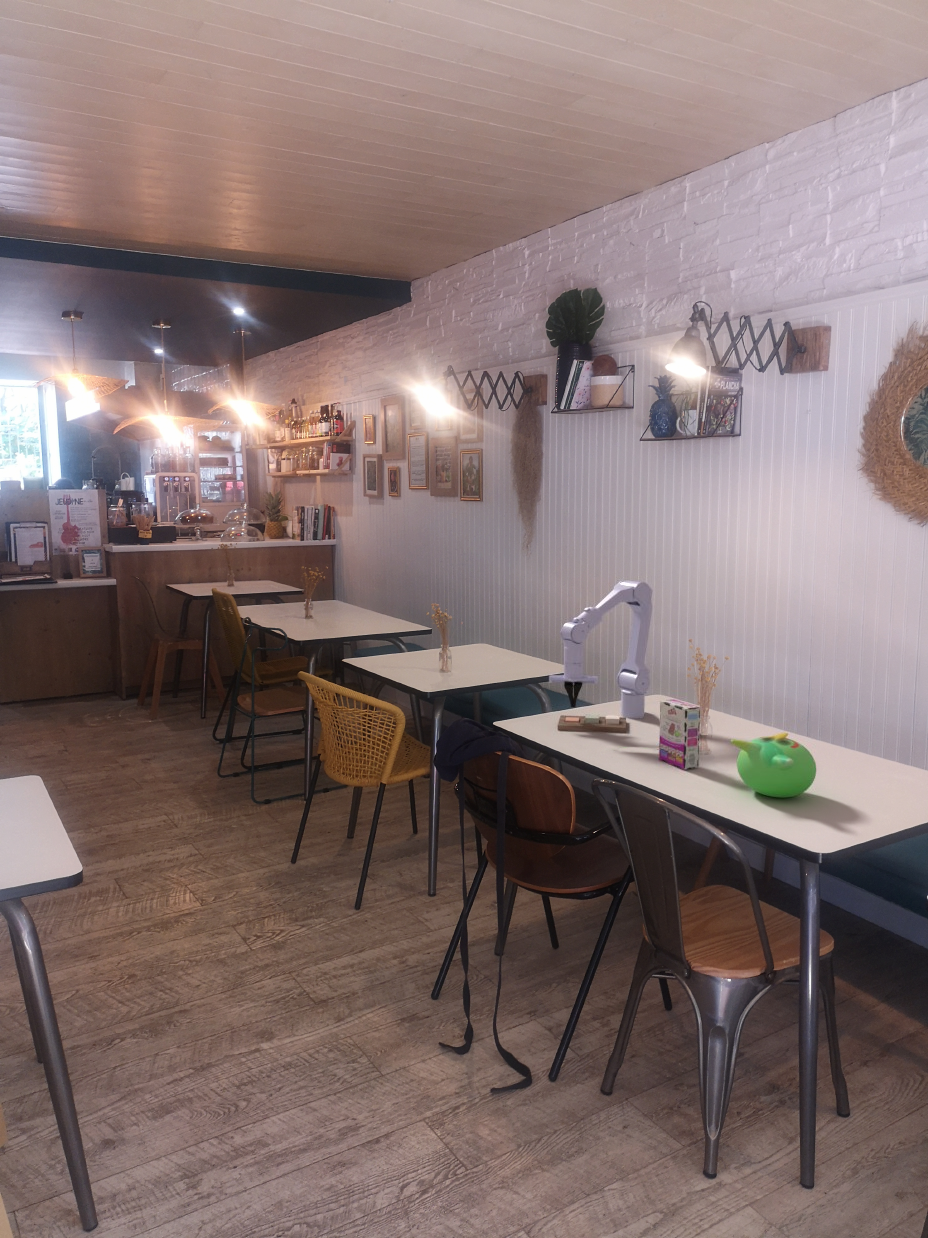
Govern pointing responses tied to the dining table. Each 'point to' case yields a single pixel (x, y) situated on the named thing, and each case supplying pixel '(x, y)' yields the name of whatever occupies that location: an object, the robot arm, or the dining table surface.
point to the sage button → (592, 719)
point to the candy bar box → (679, 734)
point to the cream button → (612, 719)
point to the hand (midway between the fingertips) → (573, 706)
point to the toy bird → (775, 765)
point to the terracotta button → (572, 719)
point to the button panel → (592, 725)
